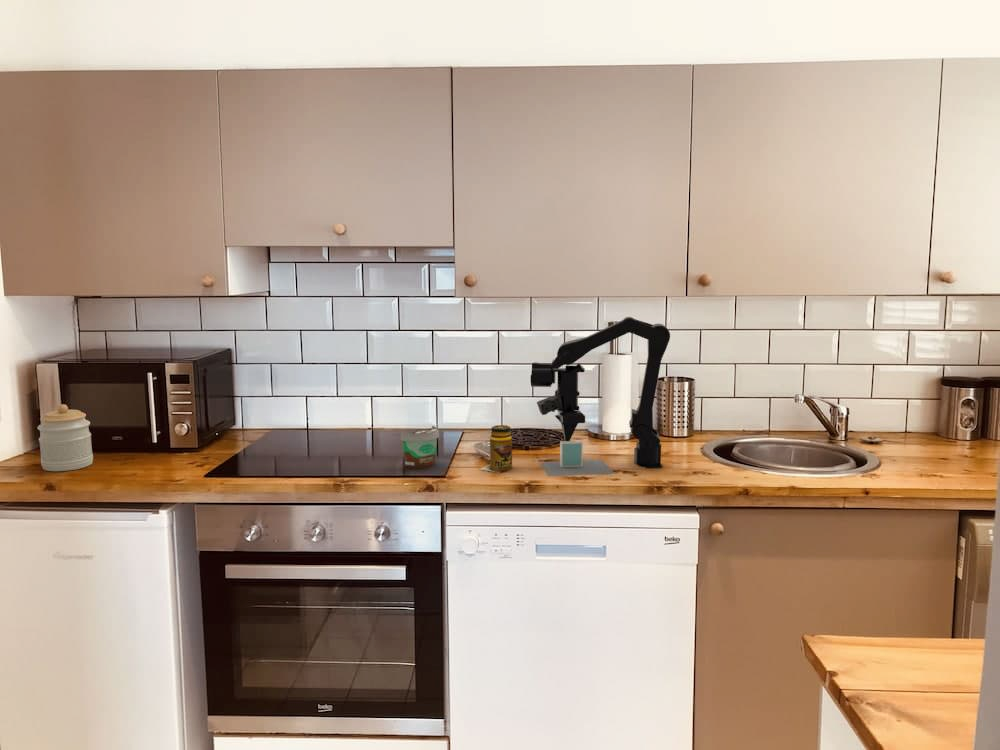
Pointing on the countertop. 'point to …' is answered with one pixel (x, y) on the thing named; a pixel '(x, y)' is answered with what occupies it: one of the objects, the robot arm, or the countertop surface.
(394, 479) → the countertop surface
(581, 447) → the tile
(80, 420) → the jar
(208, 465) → the countertop surface
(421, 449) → the food container
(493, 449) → the condiment
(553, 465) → the mat
